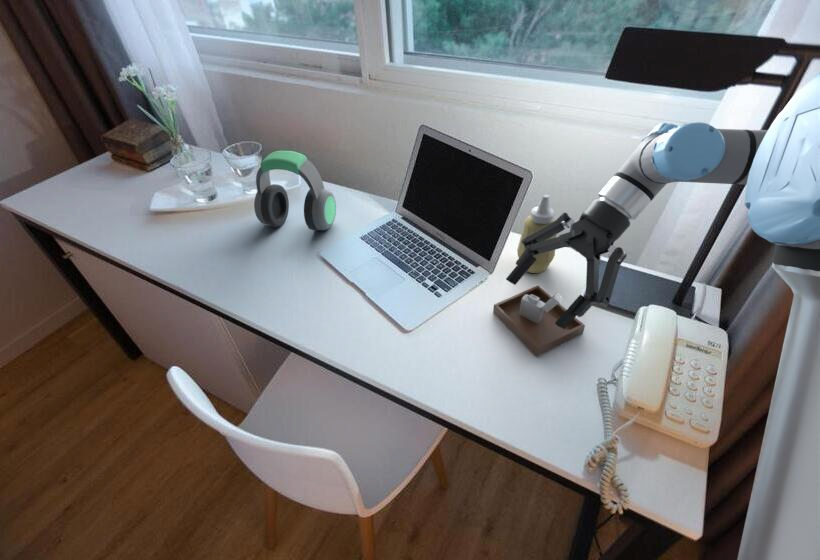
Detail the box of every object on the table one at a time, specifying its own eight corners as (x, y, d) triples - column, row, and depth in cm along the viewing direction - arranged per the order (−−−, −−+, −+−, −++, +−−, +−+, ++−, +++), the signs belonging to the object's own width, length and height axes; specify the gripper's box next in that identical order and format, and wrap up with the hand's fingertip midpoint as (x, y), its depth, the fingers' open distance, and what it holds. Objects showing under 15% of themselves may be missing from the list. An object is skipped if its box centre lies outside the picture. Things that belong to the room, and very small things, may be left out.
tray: (582, 333, 82) (585, 325, 81) (536, 357, 78) (538, 349, 77) (536, 293, 91) (538, 285, 89) (492, 312, 87) (493, 304, 86)
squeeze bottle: (520, 278, 95) (531, 208, 83) (511, 256, 101) (520, 187, 89) (557, 275, 95) (573, 204, 83) (545, 253, 101) (558, 184, 89)
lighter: (518, 314, 86) (523, 284, 80) (523, 309, 86) (528, 279, 81) (551, 330, 82) (559, 300, 77) (556, 325, 83) (563, 295, 78)
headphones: (258, 233, 113) (234, 162, 100) (277, 211, 121) (256, 143, 108) (326, 240, 109) (310, 167, 96) (340, 216, 117) (327, 146, 104)
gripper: (683, 254, 69) (592, 351, 74) (570, 188, 86) (502, 271, 91) (672, 237, 64) (574, 343, 69) (554, 171, 81) (483, 260, 86)
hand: (533, 303), depth 80 cm, fingers open, 13 cm apart
